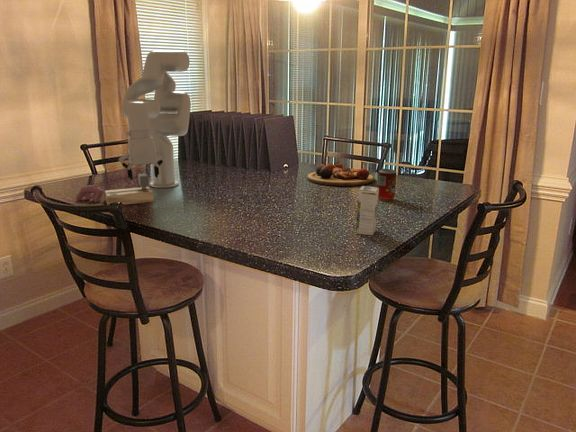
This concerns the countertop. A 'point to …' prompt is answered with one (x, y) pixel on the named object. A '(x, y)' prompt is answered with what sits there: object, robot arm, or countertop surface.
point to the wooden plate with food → (340, 175)
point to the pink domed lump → (87, 192)
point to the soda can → (386, 184)
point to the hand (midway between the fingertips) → (143, 177)
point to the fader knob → (143, 180)
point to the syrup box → (367, 210)
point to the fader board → (129, 195)
